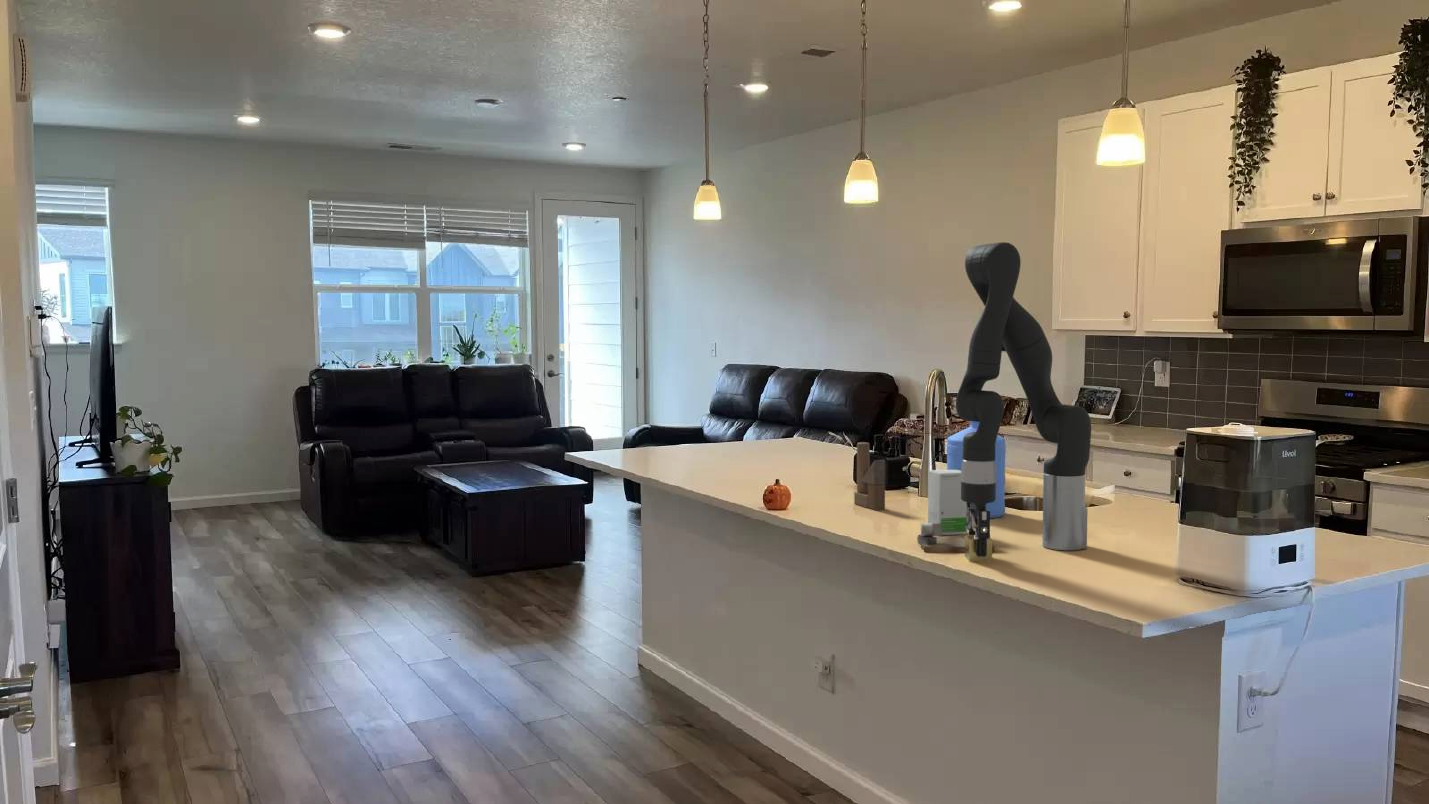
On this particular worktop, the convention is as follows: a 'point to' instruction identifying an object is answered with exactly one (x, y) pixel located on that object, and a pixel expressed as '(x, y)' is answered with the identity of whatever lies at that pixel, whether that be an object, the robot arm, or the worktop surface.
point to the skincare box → (947, 501)
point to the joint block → (971, 549)
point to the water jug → (1000, 450)
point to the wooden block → (869, 479)
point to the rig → (940, 540)
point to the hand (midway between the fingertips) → (977, 551)
